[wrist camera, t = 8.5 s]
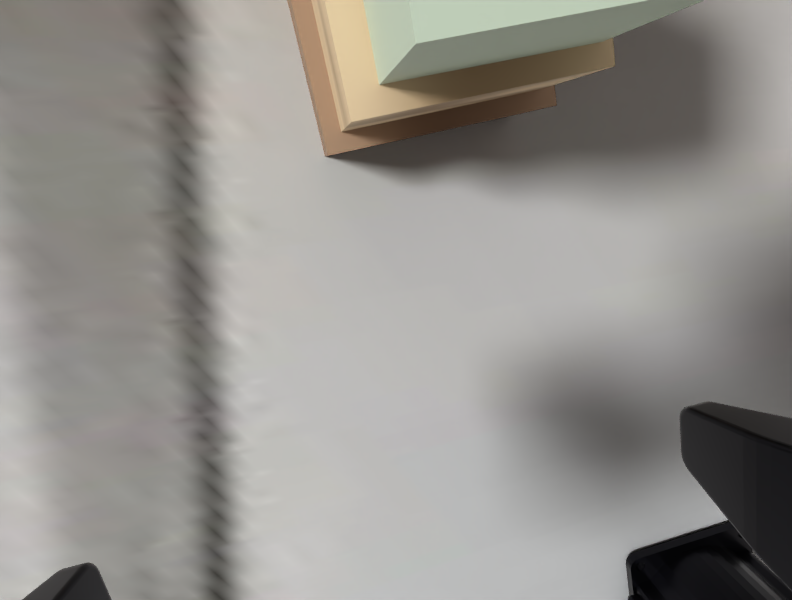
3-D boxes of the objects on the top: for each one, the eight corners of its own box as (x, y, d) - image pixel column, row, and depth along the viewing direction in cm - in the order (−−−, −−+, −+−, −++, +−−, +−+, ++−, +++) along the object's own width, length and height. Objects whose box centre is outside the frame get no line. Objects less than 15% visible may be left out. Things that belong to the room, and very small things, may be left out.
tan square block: (478, -101, 17) (525, -176, 13) (508, 116, 19) (556, 105, 15) (271, -64, 17) (259, -131, 13) (324, 156, 19) (328, 155, 15)
